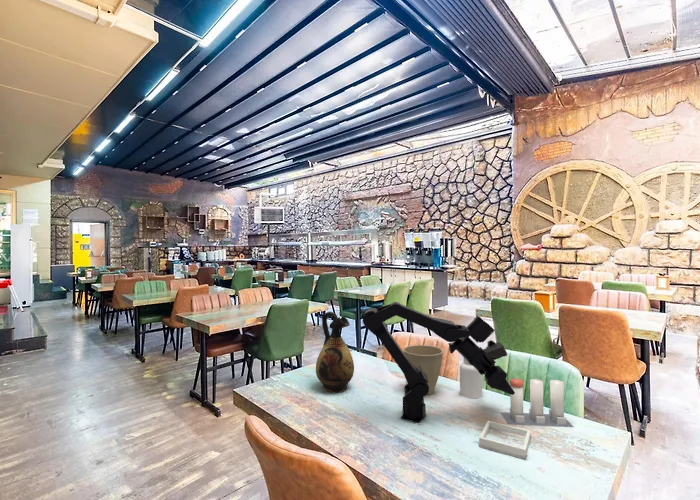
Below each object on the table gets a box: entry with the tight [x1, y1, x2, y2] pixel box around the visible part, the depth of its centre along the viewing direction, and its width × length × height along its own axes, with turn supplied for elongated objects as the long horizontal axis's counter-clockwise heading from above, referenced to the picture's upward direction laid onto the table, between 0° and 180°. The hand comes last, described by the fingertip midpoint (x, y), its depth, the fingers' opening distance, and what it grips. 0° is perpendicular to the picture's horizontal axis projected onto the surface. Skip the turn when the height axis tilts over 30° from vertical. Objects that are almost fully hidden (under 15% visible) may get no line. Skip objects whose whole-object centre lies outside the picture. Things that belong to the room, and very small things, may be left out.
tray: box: [478, 420, 532, 460], centre depth 99 cm, size 12×12×2 cm
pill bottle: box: [459, 357, 484, 400], centre depth 130 cm, size 8×8×15 cm
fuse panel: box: [499, 378, 575, 428], centre depth 110 cm, size 19×8×13 cm, turn 83°
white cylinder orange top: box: [509, 378, 524, 420], centre depth 111 cm, size 4×4×12 cm
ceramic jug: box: [315, 311, 355, 393], centre depth 141 cm, size 17×15×30 cm
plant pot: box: [403, 344, 444, 396], centre depth 136 cm, size 15×15×16 cm
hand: (508, 387), depth 111 cm, fingers open, 9 cm apart
